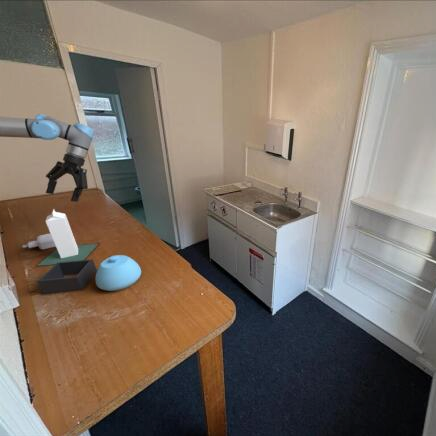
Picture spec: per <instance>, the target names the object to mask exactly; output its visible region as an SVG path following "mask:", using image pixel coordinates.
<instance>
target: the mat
mask: <svg viewBox="0 0 436 436" xmlns="http://www.w3.org/2000/svg"><path fill="white" fill-rule="evenodd" d="M98 245H99V244H98V243H92V244H91V243H89V244H77V246H78V255H74V256H70V257H65V258H61V257H60V255H59V253H58V250H57V248H56V249H54V251H52V252H51V253H50V254H49V255H47V257H45V258H44V259H43V260H42V261H40V262H39V263H38V264H37V265H36V267H45V266H54V265H55V264H56V263H58V262H67V261H79V260H86V258H87V257H88V256H89V255H90V254H91V253H92V252H93V251H94V249H95V248H96V247H97V246H98Z"/></svg>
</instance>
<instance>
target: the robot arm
mask: <svg viewBox="0 0 436 436" xmlns="http://www.w3.org/2000/svg"><path fill="white" fill-rule="evenodd" d="M94 134H95V130H94V129H93V128H92V127H90V126H88V125H85V124H83V123H79V122H75V123H74V124H69V123H66V122H64V121H62V120H59V119H56V118H55V117H51V116H49V115H45V114H42V113H37V115H36V116H35V118H25V117H14V116H13V117H11V116H0V137H1V138H22V139H23V138H24V139H26V138H27V139H41V140H45V141H49V140H50V141H53V140H55V139H57V138H60V139H62V140H65V141H68V143H67V146H66V149H65V153H64V154H63V158H62V161H61V160H60V161H59V160H58V161H56V163H55V165H54V166H53V168H51V169H50V170H49V171H48V173H46V175H45V177H46V178H47V179H48V182H47V188H46V191H45V194H49V195H54V193H55V190H56V187H57V184H58V180H59V179H60V178H62V177H63V176H65V175H67V174H68V175H70V176H72V178H73V181H74V183H75V187H74V189H73V192H72V195H71V199H70V202H74V203H75V202H76V203H79V199H80V196H82V193H83V190H88V189H89V186H88V179H87V178H88V177H87V173H88V170H87V169H86V168H83V167H84V165H85V162H86V158H87V156H88V153H89V149H90V147H91V144H92V141H93V138H94ZM63 161H64V162H63Z"/></svg>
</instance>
